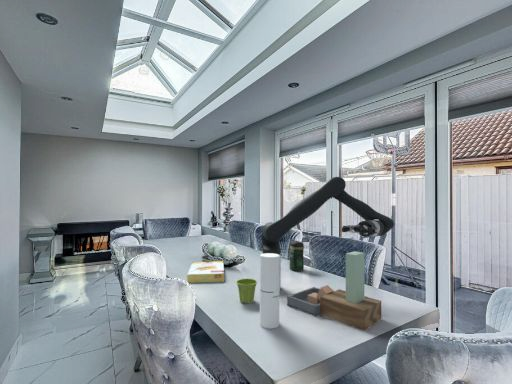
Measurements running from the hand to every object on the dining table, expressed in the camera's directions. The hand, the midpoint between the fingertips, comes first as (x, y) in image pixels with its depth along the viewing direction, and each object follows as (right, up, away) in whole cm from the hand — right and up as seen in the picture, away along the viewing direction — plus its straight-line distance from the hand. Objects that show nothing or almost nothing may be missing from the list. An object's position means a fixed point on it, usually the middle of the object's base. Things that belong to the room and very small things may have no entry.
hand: (351, 230), depth 122 cm
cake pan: (-69, -34, +75) cm, 107 cm away
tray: (-16, -32, -2) cm, 36 cm away
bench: (-5, -32, -14) cm, 35 cm away
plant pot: (-46, -32, +2) cm, 56 cm away
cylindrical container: (-37, -31, -20) cm, 53 cm away
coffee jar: (-16, -33, +58) cm, 69 cm away
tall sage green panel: (-4, -25, -15) cm, 29 cm away
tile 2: (-12, -27, -6) cm, 30 cm away
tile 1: (-16, -28, -2) cm, 32 cm away
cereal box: (-71, -33, +43) cm, 90 cm away
